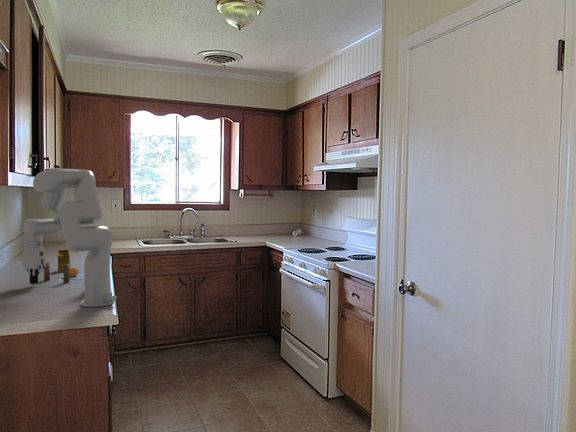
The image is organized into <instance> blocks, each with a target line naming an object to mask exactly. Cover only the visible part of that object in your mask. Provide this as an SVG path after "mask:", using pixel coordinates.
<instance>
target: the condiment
mask: <svg viewBox="0 0 576 432" xmlns="http://www.w3.org/2000/svg"><path fill="white" fill-rule="evenodd" d="M70 257H71V255H70V249H58V255H57V272H58V271H59V272H60V273H63V265H64V264H69V268H70V267H71V265H70V264H71V263H70V262H71V258H70Z"/></svg>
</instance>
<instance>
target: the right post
mask: <svg viewBox="0 0 576 432" xmlns="http://www.w3.org/2000/svg"><path fill="white" fill-rule="evenodd" d="M62 273H63V275H62V276H63V278H62V280H63V283H64V284H69V283H70V279H69V264H64V265H63V272H62Z"/></svg>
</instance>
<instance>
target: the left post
mask: <svg viewBox="0 0 576 432" xmlns="http://www.w3.org/2000/svg"><path fill="white" fill-rule="evenodd" d="M50 267H51V264H50V262H48V261H46V267H45V268H43V270H44V271H43V282H50V281H51V277H50V276H51V275H50V273H51V271H50V270H51V268H50Z"/></svg>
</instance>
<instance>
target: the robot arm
mask: <svg viewBox="0 0 576 432" xmlns="http://www.w3.org/2000/svg"><path fill="white" fill-rule="evenodd" d="M96 180H97V179H96V176H95V174H94V173H93V172H92V170H89V169H79V168H78V169H77V168H58V167H57V168H54V167H53V168H49V169H48V168H47V169H45V170H43V171H40V172H38V173H37V174H36V175H35V176H34V178H33V182H32V185H33V186H32V187H33V189H34V190H35V192H36V193H43V195H42V197H41V199H40V203H41V205H42V206H43V207H44V208H45V209H47V210H49V211H51V212H54V213H56V214H55V216H54V217H53V218H26V219H24V221H23V239H24V241H23V246H24V247H23V253H22V268H24V269H23V270H24V271H26V272H27V273H28V276H29V284H30V285H34V284H35V285H36V284H38V283H39V275H40V274H41V273H42V272H44V268H45V267H46V262H47V259H46V252H45V251H46V250H45V248H44V247H43V246H44V242H43V236H51V235H52V236H53V235H58V234H59V233H60V232H61V231H62V234H63V237H64V242H65V244H66V247H67V249H68V250H69V251H72V252H76V253H77V252H86V251H88V252H87V254H86V256H85V258H84V263H83V264H84V266H83V271H84V273H83V274H84V277H85V279H84V299H82V300H81V301H80V303H79V305H80V306H81V307H86V308H100V307H106V306H109V305H112V304H114V303H115V302H116V300H117V299H118V296H117V295H113V292H112V291H111V249H112V245H113V235H114V234H113V232H112V231H111V229H110V228H109V227H107V226H104V225H96V224H98V223H100V222H101V221H102V219H103V212H102V207H101V204H100V199H99V197H98V193H97V187H96ZM69 190H73V194H74V200H75V201H74V200H72V201H65V199H66V196H67V194H68V191H69ZM86 225H89V226H86Z"/></svg>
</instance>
